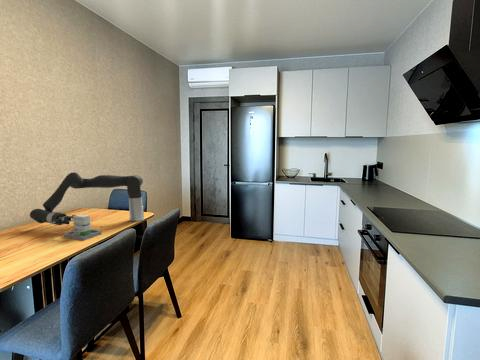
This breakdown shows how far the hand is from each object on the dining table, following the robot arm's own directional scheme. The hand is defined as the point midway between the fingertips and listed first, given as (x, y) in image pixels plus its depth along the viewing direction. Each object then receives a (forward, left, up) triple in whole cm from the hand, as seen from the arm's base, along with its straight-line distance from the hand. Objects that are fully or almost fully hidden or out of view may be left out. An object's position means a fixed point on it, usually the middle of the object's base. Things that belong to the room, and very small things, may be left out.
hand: (75, 220), depth 166 cm
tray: (0, +6, -9) cm, 10 cm away
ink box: (0, +6, -8) cm, 10 cm away
